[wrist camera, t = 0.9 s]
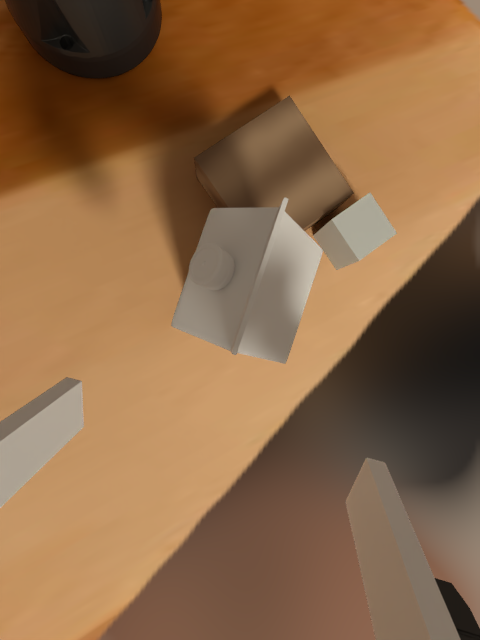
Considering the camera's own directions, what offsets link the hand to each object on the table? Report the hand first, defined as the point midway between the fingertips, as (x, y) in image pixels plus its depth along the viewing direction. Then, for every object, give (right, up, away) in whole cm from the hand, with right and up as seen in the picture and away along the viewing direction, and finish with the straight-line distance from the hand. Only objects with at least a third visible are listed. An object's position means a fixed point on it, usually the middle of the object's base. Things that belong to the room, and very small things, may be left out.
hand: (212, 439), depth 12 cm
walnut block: (+5, +20, +19) cm, 28 cm away
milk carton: (0, +7, +18) cm, 20 cm away
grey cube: (+13, +15, +19) cm, 28 cm away
